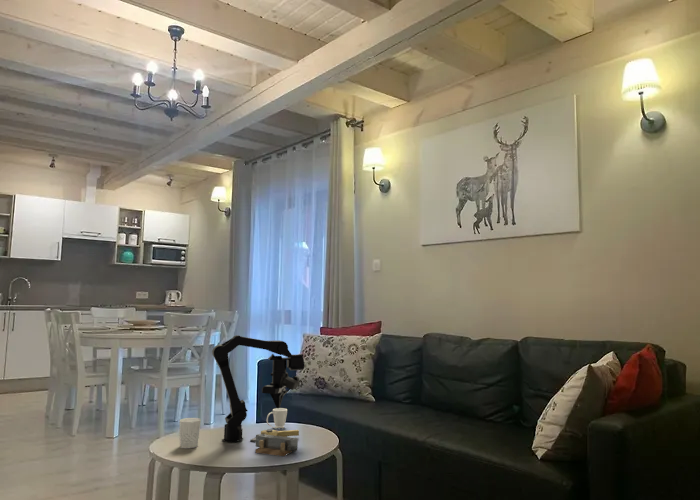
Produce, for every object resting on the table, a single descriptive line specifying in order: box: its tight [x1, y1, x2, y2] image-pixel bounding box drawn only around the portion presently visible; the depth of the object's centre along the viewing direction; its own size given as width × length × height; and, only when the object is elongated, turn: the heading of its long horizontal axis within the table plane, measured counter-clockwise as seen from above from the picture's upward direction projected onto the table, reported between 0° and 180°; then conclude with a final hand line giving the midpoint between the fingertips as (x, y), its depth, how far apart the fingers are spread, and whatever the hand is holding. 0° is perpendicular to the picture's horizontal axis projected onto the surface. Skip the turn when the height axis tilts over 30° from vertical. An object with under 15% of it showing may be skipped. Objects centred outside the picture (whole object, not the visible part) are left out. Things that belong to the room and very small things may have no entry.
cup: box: [266, 407, 288, 429], centre depth 240 cm, size 7×10×8 cm
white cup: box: [178, 417, 201, 449], centre depth 205 cm, size 8×8×10 cm
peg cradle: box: [255, 440, 293, 457], centre depth 200 cm, size 12×10×4 cm
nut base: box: [250, 436, 288, 443], centre depth 217 cm, size 11×11×1 cm
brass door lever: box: [260, 429, 300, 437], centre depth 219 cm, size 16×7×3 cm, turn 112°
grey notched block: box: [255, 433, 299, 452], centre depth 200 cm, size 18×4×4 cm, turn 69°
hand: (278, 408), depth 223 cm, fingers closed
